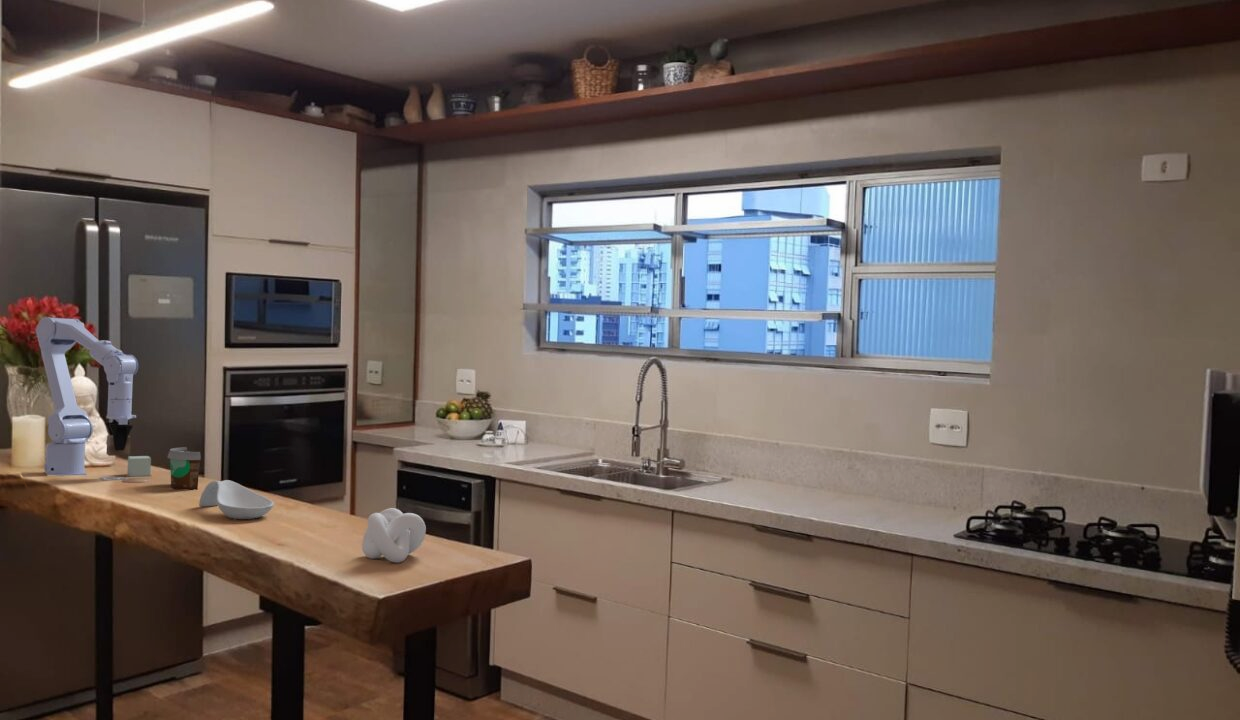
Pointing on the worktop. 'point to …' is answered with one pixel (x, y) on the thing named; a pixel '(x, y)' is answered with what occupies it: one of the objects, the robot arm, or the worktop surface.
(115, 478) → the tile
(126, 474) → the tile
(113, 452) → the walnut block
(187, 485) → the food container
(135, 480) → the coaster
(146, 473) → the sage block
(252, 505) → the spoon rest
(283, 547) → the worktop surface
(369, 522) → the grey knot sculpture
